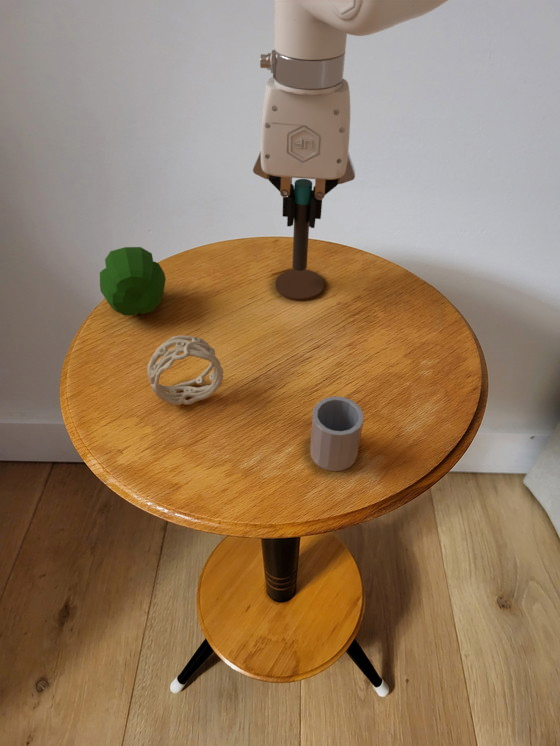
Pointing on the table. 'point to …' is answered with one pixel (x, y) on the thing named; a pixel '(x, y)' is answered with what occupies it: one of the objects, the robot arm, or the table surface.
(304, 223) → the marker
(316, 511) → the table surface
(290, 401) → the table surface
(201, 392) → the bracelet
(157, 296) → the bell pepper
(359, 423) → the pot
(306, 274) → the coaster
